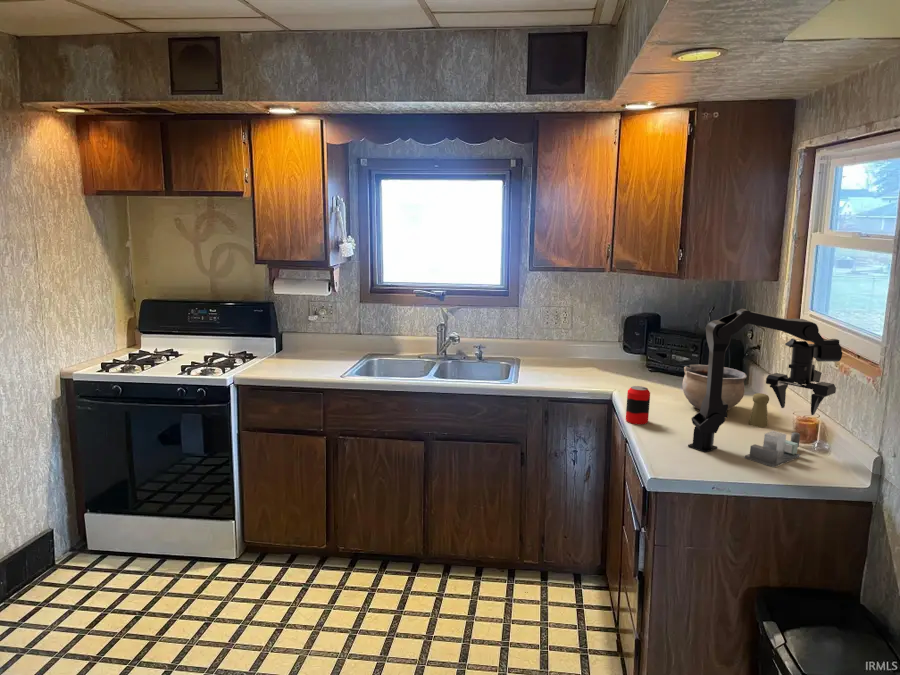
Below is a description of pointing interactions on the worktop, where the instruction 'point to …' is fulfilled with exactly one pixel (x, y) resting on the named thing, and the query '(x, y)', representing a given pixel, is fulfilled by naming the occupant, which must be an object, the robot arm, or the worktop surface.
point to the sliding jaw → (792, 443)
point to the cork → (759, 410)
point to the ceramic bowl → (697, 385)
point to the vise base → (769, 456)
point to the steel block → (775, 442)
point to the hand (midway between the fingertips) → (797, 411)
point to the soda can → (637, 405)
